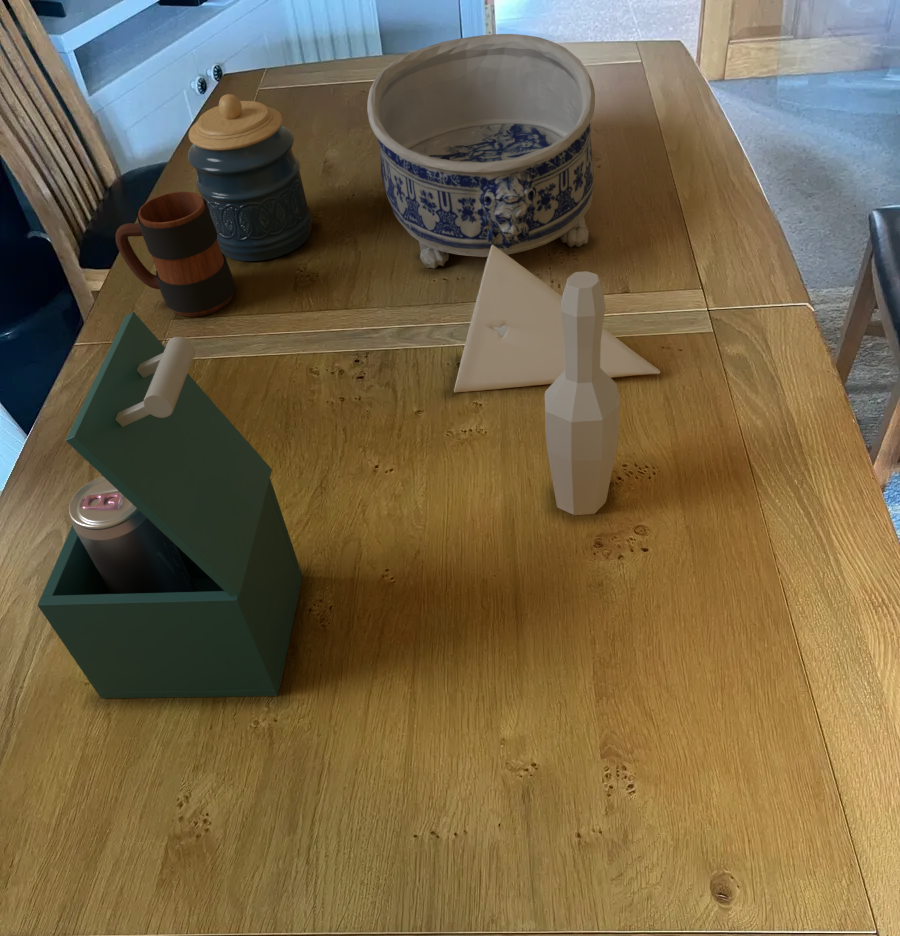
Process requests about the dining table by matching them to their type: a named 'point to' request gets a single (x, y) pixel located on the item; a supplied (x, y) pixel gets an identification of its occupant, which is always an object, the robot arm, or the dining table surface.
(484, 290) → the drafting triangle
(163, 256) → the mug
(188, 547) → the cool box lid
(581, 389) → the low poly bottle
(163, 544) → the beverage can
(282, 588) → the cool box
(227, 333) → the dining table surface
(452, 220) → the decorative bowl
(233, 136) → the canister
